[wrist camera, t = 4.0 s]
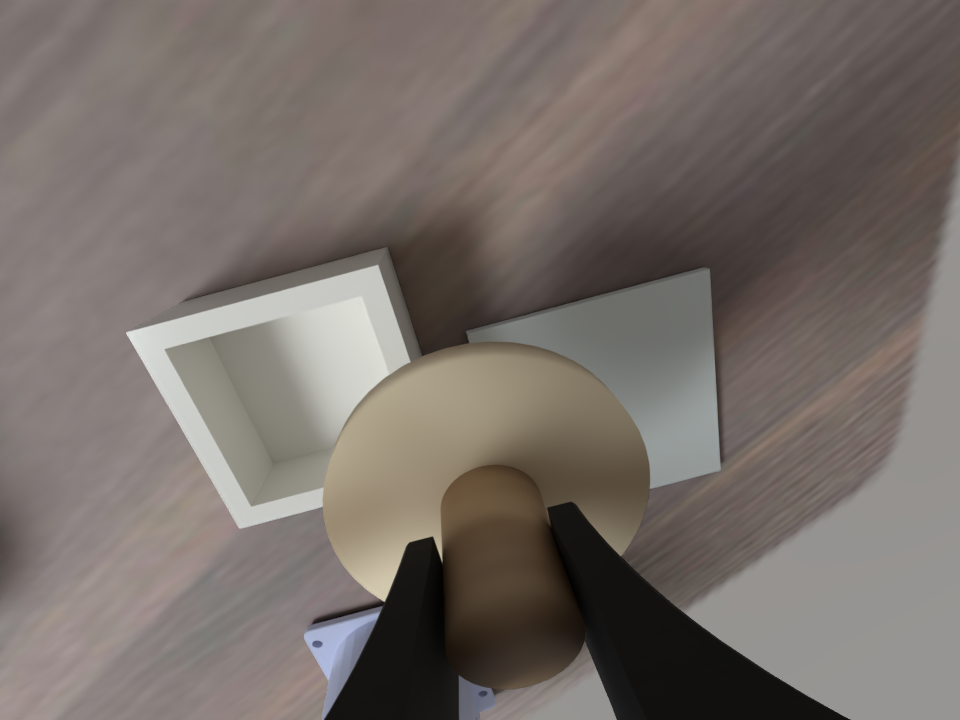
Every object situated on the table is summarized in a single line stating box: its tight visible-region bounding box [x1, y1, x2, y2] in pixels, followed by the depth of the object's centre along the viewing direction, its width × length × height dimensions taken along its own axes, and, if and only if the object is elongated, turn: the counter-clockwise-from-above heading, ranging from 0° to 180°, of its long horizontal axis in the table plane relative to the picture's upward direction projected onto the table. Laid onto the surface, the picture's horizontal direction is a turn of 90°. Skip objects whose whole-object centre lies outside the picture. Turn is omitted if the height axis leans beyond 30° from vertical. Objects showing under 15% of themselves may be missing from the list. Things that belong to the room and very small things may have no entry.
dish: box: [126, 247, 422, 529], centre depth 18 cm, size 8×8×4 cm
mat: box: [466, 267, 721, 489], centre depth 21 cm, size 10×10×1 cm
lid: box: [322, 341, 650, 689], centre depth 12 cm, size 9×9×5 cm
